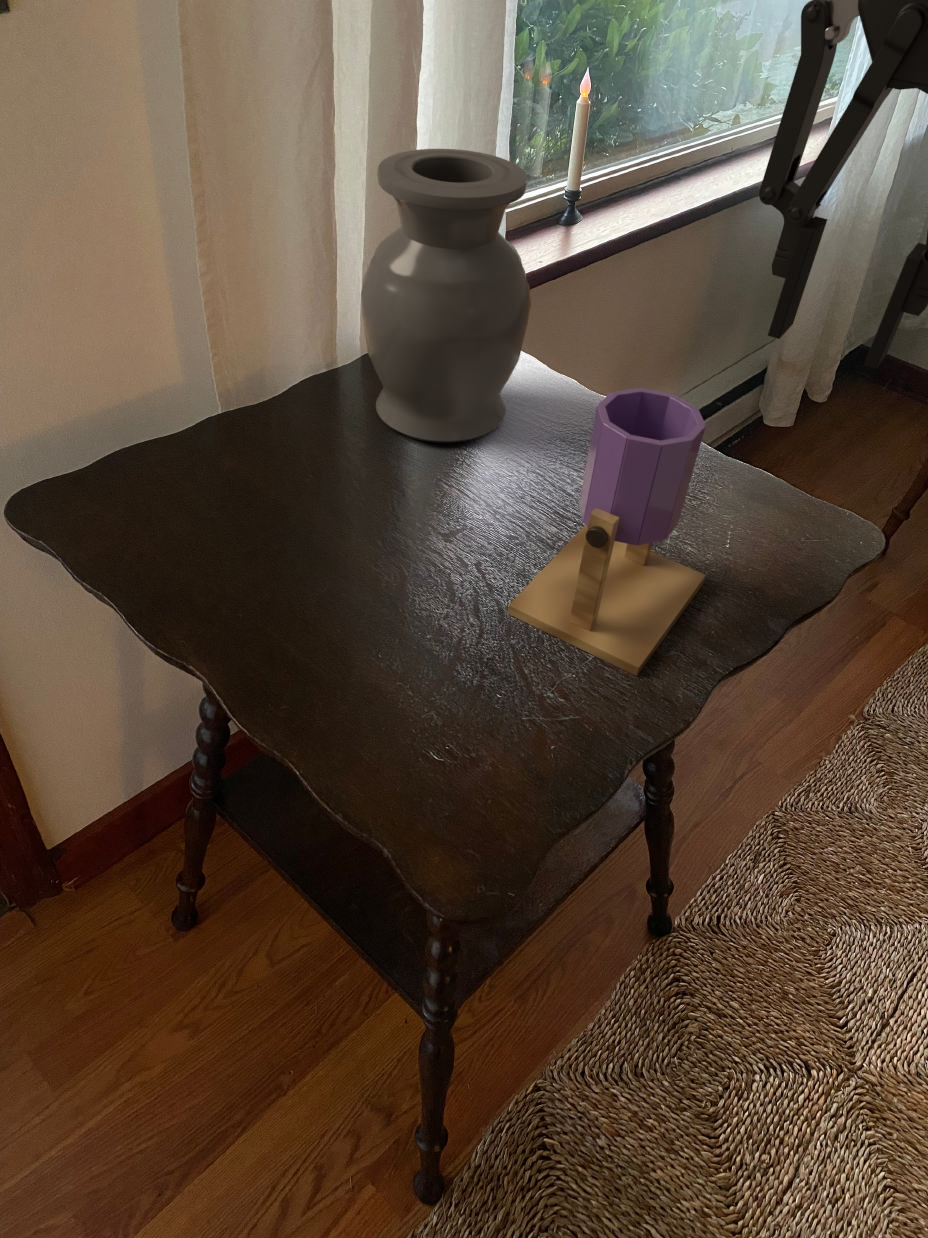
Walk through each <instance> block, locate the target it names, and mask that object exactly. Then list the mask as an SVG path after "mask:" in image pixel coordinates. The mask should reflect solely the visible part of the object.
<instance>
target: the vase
mask: <svg viewBox="0 0 928 1238" xmlns="http://www.w3.org/2000/svg"><path fill="white" fill-rule="evenodd" d="M376 172H377V173H376V177H377V181H378V182H377V183H378V185H379V187H380V188H381V189H382V190H383V191H384V192H385V193H387V194H389V195H390V196H392V199H394V201H395V202H396V208H397V211H398V217H399V221H400V226H399V227H398V228H396V229H395V230H394V231H392V232H390V233H389V234H388V235H387V236H385V237H384V238H383V239H382V240H381V241H380V242H379V244H378V245H377V247H376V248H375V251H374V254H373V257H372V258H371V259H370V263H369V264H368V267H367V268H366V272H365V274H364V277H363V280H362V287H361V293H360V296H361V299H360V300H361V312H362V321H363V327H364V335H365V343H366V350H367V354H368V356H369V358H370V361H371V363H372V366H373V369H374V371H375V373H376V375H377V377H378V379H379V381H380V383H381V385H382V387H383V388H382V390H380V393H379V394H378V396H377V398H376V401H375V410H376V413H377V414H378V416H379V418H380V419H381V420H382V421H383V422H384V423H385V424H386V425H388V426H389V427H390V428H392V429H393V430H394V431H396V432H398V433H400V434H401V435H403V436H405V437H409V438H411V439H414V440H417V441H421V442H427V443H433V444H435V443H436V444H455V443H463V442H467V441H468V442H469V441H472V440H476V439H478V438H480V437H482V436H485V435H486V434H488V433H490V432H491V431H493V430H495V429H496V428H497V427H499V426H500V424H501V423H502V422H503V420H504V418H505V416H506V405H505V403H504V400H503V398H502V396H501V392H502V390H503V389H504V387H505V386H506V385H507V383H508V381H509V379H510V378H511V376H512V375H513V373H514V371H515V368H516V367H517V364H518V363H519V360H520V357H521V353H522V349H523V345H524V340H525V336H526V333H527V329H528V323H529V318H530V312H531V306H532V301H531V299H532V298H531V286H530V283H529V280H528V277H527V273H526V270H525V268H524V266H523V263H522V259H521V256H520V254H519V252H518V250H517V249H516V248H515V246H514V245H512V243H511V242H510V241H509V240H507V238H505V237H504V235H502V234H501V233H500V232H499V231H500V228H501V226H502V221H503V218H504V215H505V213H506V209H507V208H509V206H510V205H511V204H513V203H515V202H517V201H518V200H520V199H521V198H523V196H524V195H525V193H526V191H527V186H528V176H527V173H526V171H525V170H524V169H523V168H522V167H520V166H519V165H517V164H516V163H514V162H512V161H510V160H508V159H505V158H502V157H499V156H496V155H492V154H490V153H484V152H479V151H473V150H467V149H457V148H423V149H422V148H421V149H413V150H407V151H403V152H398V153H395V154H392V155H389V156H387V157H386V158H384V159H383V160H381V161H380V163H379V164H378V166H377V171H376Z"/></svg>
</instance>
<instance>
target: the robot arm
mask: <svg viewBox="0 0 928 1238" xmlns="http://www.w3.org/2000/svg"><path fill="white" fill-rule="evenodd" d="M800 14H801V15H800V56H799V58H798V63H797V64H796V65H797V66H796V69H795V72H794V75H793V79H792V81H791V85H790V88H789V92H788V96H787V99H786V102H785V104H784V105H785V106H784V109H783V112H782V115H781V118H780V122H779V125H778V128H777V132H776V136H775V138H774V141H773V145H772V148H771V152H770V155H769V158H768V162H767V164H766V168H765V172H764V175H763V178H762V181H761V185H760V189H759V190H758V198H759V200H760V202H761V203H762V204H763V205H765V206H772V207H773V208H774V209H776V210H778V211H779V212H780V213H781V215H782V217H783V226H782V230H781V233H780V236H779V239H778V242H777V246H776V250H775V252H774V257H773V260H772V263H771V274H772V275H773V276H775V277H779V278H783V279H784V282H783V285H782V288H781V291H780V295H779V298H778V301H777V304H776V308H775V311H774V314H773V317H772V320H771V323H770V326H769V329H768V333H767V337H770V338H774V339H777V340H780V339H781V338H782V337H783V336H784V335H785V334H786V332H787V331H788V330H789V329H790V328H791V327H792V326H793V325H794V322H795V319H796V316H797V313H798V310H799V307H800V305H801V301H802V298H803V295H804V292H805V289H806V287H807V283H808V281H809V277H810V274H811V271H812V268H813V264H814V261H815V259H816V256H817V253H818V250H819V246H820V245H821V244H820V243H821V240H822V239H823V238H822V237H823V234H824V232H825V229H826V226H827V222H828V218H824V217H820V216H817V215H815V212H816V211H817V210H818V209H819V208H820V207H821V206H822V204H821V203H822V202H823V200H824V199H825V197H826V195H827V193H828V192H829V191H830V189H831V187H832V186H833V184H834V182H835V180H837V178H838V176H839V175H840V172H841V171H842V169H844V166H845V165H846V163H847V161H848V160H849V159H850V157H851V156H852V153H853V152H854V150H855V148H856V147H857V146H858V144H859V142H860V140H861V139H862V137H863V136H864V134H865V132H866V131H867V129H868V127H870V124H871V123H872V121H873V119H874V118H875V117H876V115H877V113H878V112H879V110H880V108H881V106H882V105H883V104H884V102H885V100H887V98H888V97H889V95H890V94H891V92H892V90H893V89H894V90H899V91H901V90H913V89H918V90H920V91H921V92H922V93H925V94H927V95H928V0H810V1H808V2H806V4H805V5H804V6H803V7H802V9H801V13H800ZM858 17H859V20H860V23H861V26H862V31H863V34H864V38H865V42H866V45H867V49H868V52H869V56H870V60H871V63H870V65H869V66H868V68H867V70H866V71H865V73H864V74H863V77H862V78H861V81H860V82H859V84H858V85H857V87H856V88H855V90H854V92H853V95H852V98H851V99H850V102H849V103H848V105H847V107H846V108H845V110H844V111H843V113H842V115H841V117H840V119H839V120H838V122H837V123H836V125H835V127H834V128H833V130H832V132H831V133H830V134H829V137H828V139H827V140H826V142H825V144H824V145H823V146H822V149H821V150H820V152H819V153H818V155H817V157H816V158H815V160H814V162H813V164H812V165H811V167H810V168H809V170H808V172H807V174H806V176H805V177H804V179H803V181H802V182H801V184H800V185H799V184H798V183H796V182H795V180H796V178H797V175H798V171H799V168H800V165H801V162H802V159H803V156H804V153H805V149H806V147H807V144H808V140H809V138H810V134H811V132H812V128H813V125H814V122H815V119H816V116H817V114H818V110H819V107H820V104H821V101H822V98H823V94H824V92H825V88H826V86H827V82H828V79H829V76H830V73H831V70H832V67H833V64H834V62H835V61H834V60H835V57H836V54H837V47H838V44H840V43H842V42H843V41H844V40H846V39H847V37H848V36H849V34H850V31H851V27H852V24H853V23H854V21H855V20H856V18H858ZM927 307H928V230H927V232H926V239H925V243H921V242H918V243H917V244H915V246H914V247H913V249H912V250H911V251H910V252H909V254H908V255H907V256H906V258H905V261H904V263H903V266H902V269H901V271H900V273H899V275H898V278H897V281H896V283H895V286H894V288H893V291H892V294H891V296H890V299H889V301H888V303H887V307H886V309H885V310H884V311H885V312H884V313H883V316H882V318H881V321H880V323H879V325H878V329H877V330H876V334H875V336H874V338H873V340H872V343H871V346H870V349H869V351H868V353H867V356H866V357H865V358H866V359H865V361H864V363H863V367H866V368H870V369H873V370H877V369H878V368H879V366H880V364H881V363H882V362H883V360H884V359H885V357H886V356H887V354H888V353H889V351H890V348H891V345H892V343H893V341H894V338H895V336H896V333H897V331H898V329H899V326H900V324H901V321H902V319H903V316H904V315H905V313H906V314H909V315H913V316H916V317H920V315H921V314H922V313H923V312H924V311H926V309H927Z"/></svg>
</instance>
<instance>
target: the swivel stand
mask: <svg viewBox="0 0 928 1238" xmlns="http://www.w3.org/2000/svg"><path fill="white" fill-rule="evenodd" d="M619 519H620V518H619V517H617V516H615V515H612V514H610V513H608V512H605V511H603V510H600V509H598V508H595V509H594V510H593V512H592V513H591V514H590V517H589V523H588V526H587V525H586V524H584V525H583V527H581V529H580V530H579V531H578V532H577V533H576V534H575V535H574V536H573V537H572V538H571V539H570V540H569V542H568V543H566V545H564V546H563V547H562V549H561V550H560V551H559V552H558V553H557V554H556V555H555V556H554V557H553V558H552V559H551V561H549V562H548V563H547V564H546V565H545V566H544V568H542V570H541V571H540V572H539V573H538V574H537V575H536V576H535V577H534V578H533V579H532V580H531V581H530V582H529V583H528V585H526V586H525V588H524V589H522V591H521V592H520V593H519V594H518V595H517V596H516V597H515V598H514V599H513V600H512V601H511V602H510V603H509V604H508V609H507V615H509V616H511V617H514V618H515V619H518V620H519V621H522V622H523V623H526V624H527V625H530V626H532V627H534V628H536V629H538V630H540V631H542V632H545V633H546V634H549V635H550V636H553V637H555V638H557V639H559V640H561V641H563V642H565V643H567V644H569V645H571V646H573V647H575V648H578V649H580V650H581V651H584V652H586V653H588V654H590V655H592V656H594V657H596V658H598V659H600V660H602V661H605V662H606V663H608V664H610V665H613V666H615V667H616V668H619V669H621V670H623V671H624V672H627V673H629V674H631V675H633V676H635V677H638V675H639V674H640V673H641V671H642V670H643V668H644V667H645V666H646V664H647V663H648V662H649V660H651V659H650V658H651V657H652V656H653V655H654V653H655V652H656V650H657V649H658V648H659V647H660V645H661V644H662V642H663V641H664V639H665V637H667V635H668V633H669V632H670V631H671V629H672V628H673V627H674V625H675V624H676V622H677V621H678V620H679V618H680V617H681V616H682V614H683V613H684V611H685V610H686V609H687V607H688V606H689V604H690V603H691V602H692V600H693V599H694V598H695V596H696V595H697V593H698V592H699V591H700V589H702V586H703V584H704V583H705V581H706V577H707V574H705V573H703V572H701V571H698V570H696V569H693V568H691V567H689V566H686V565H684V564H682V563H679V562H677V561H674V560H672V559H669V558H667V557H665V556H663V555H660V554H658V553H655V552H654V551H652V549H653V546H654V543H649V544H644V545H639V546H638V545H637V546H636V545H631V544H626V543H622V542H617V541H615V537H616V532H617V528H618V524H619Z"/></svg>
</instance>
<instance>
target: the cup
mask: <svg viewBox="0 0 928 1238" xmlns="http://www.w3.org/2000/svg"><path fill="white" fill-rule="evenodd" d="M706 426H707V425H706V422H705V420H704V418H703V415H702V413H701V412H700V410H699V408H698V407H697V406H695V405H694V404H692V403H690V402H688V401H687V400H685V399H684V398H682V397H680V396H678V395H676V394H674V393H671V392H667V391H666V392H665V391H660V390H656V389H650V388H646V387H637V388H627V389H622V390H615V391H614V390H613V391H611V392H610V393H609V394H608V395H606V396H605V397H604V398H603V399H602V400H601V401H600V402H598V403H597V405H596V409H595V415H594V420H593V425H592V431H591V436H590V441H589V447H588V452H587V458H586V464H585V469H584V474H583V479H582V486H581V490H580V495H579V502H578V507H579V511H580V515H581V520H582V523H583V524H584V525H587V526H588V523H589V517H590V514H591V513H592V512H593V510H594V509H595V508H598V509H600V510H603V511H605V512H608V513H610V514H612V515H615V516H617V517H619V518H620V519H619V524H618V528H617V532H616V537H615V541H617V542H622V543H626V544H631V545H636V546H637V545H638V546H639V545H644V544H649V543H653V544H654V543H659V542H663V541H666V540H667V539H668V537H669V536H670V535H672V533H673V532H674V530H676V528H677V527H678V526H679V522H680V518H681V516H682V511H683V508H684V505H685V501H686V498H687V494H688V490H689V487H690V483H691V480H692V476H693V472H694V469H695V466H696V463H697V458H698V455H699V452H700V447H701V444H702V442H703V438H704V434H705V431H706Z"/></svg>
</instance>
